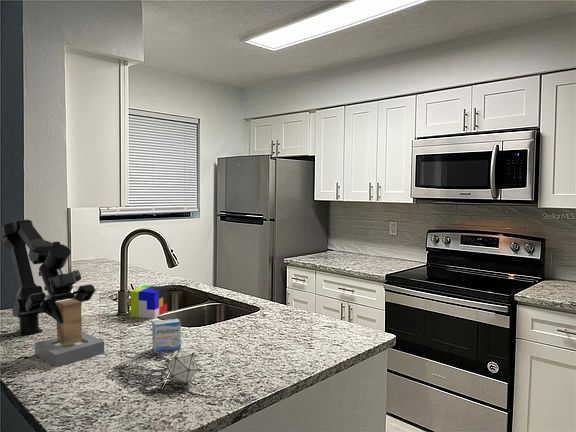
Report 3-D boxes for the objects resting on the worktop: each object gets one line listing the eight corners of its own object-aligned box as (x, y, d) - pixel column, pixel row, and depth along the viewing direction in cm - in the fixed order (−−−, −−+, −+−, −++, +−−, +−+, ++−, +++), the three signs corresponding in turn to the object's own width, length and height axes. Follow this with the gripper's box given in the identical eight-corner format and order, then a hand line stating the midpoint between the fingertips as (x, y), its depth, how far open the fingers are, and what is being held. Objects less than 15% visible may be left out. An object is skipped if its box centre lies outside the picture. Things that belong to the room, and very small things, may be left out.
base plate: (35, 354, 131) (34, 343, 131) (81, 342, 142) (81, 331, 142) (56, 367, 122) (55, 354, 122) (104, 352, 133) (104, 341, 133)
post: (57, 341, 132) (56, 302, 131) (74, 337, 135) (73, 298, 135) (64, 345, 128) (63, 305, 128) (81, 341, 132) (81, 301, 131)
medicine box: (155, 353, 133) (154, 325, 133) (152, 348, 137) (151, 321, 137) (181, 349, 137) (181, 321, 136) (177, 344, 141) (177, 317, 140)
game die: (177, 394, 115) (168, 357, 119) (208, 382, 115) (198, 345, 120) (164, 391, 107) (156, 351, 111) (198, 378, 107) (188, 339, 112)
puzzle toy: (154, 318, 168) (154, 292, 167) (130, 316, 170) (130, 291, 169) (167, 311, 178) (167, 286, 177) (144, 309, 180) (144, 285, 179)
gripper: (27, 266, 126) (45, 312, 119) (92, 258, 140) (110, 299, 134) (17, 289, 131) (34, 334, 125) (80, 279, 146) (98, 319, 139)
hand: (71, 320), depth 131 cm, fingers closed on post, 5 cm apart
